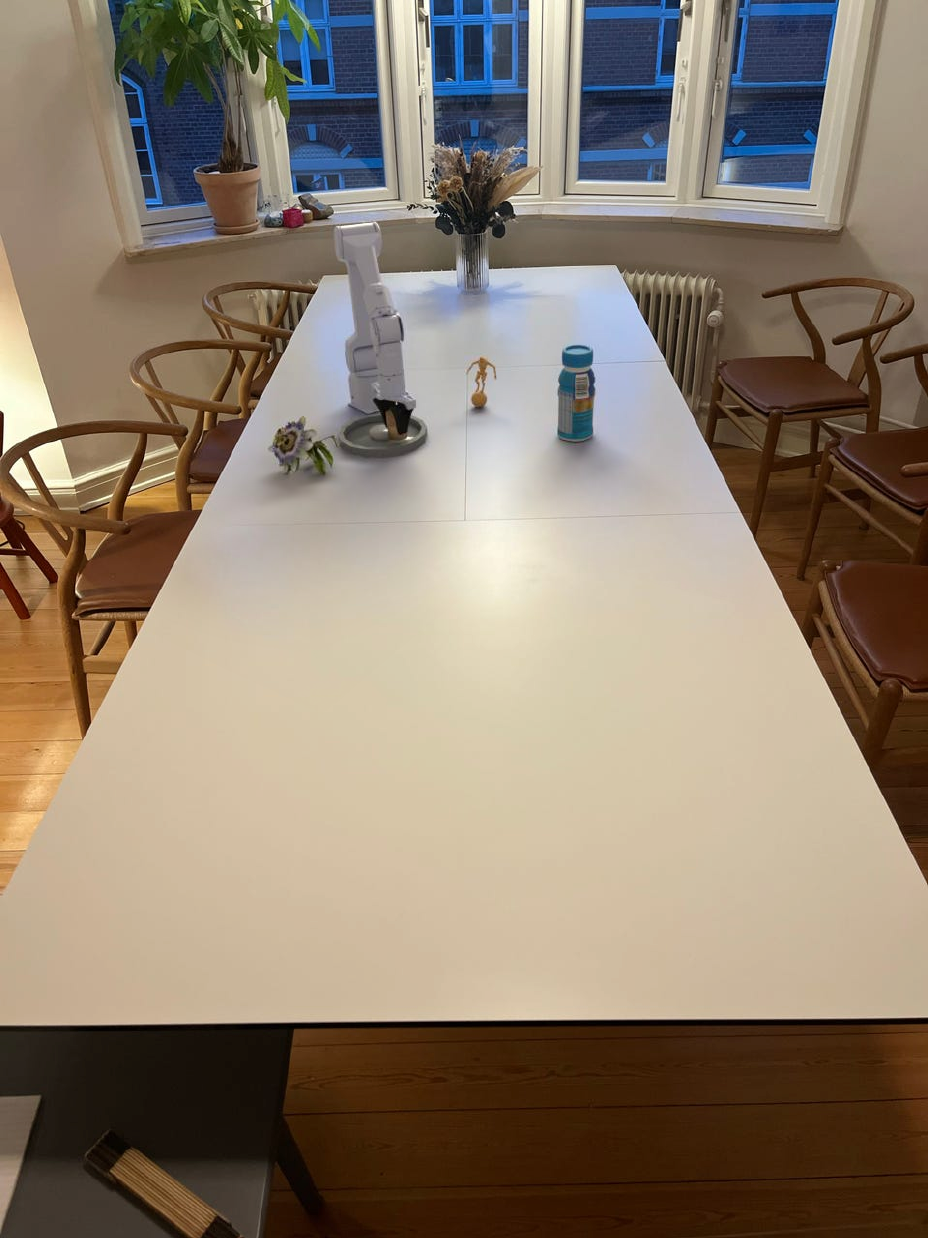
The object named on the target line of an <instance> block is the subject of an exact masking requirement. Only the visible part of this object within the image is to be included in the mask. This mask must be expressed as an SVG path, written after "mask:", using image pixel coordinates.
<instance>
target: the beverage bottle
mask: <svg viewBox="0 0 928 1238" xmlns="http://www.w3.org/2000/svg"><path fill="white" fill-rule="evenodd" d="M593 363H594V349H593V348H592V347H591V346H589V345H585V344H571V345H567V346H564V347H563V349H562V352H561V364H562V366H563V368H562V369H561V371H560V372H559V375H558V379H557V382H558V384H559V386H558V387H557V391H556V393H557V394H556V395H557V398H558V399H557V400H558V407H557V409H558V411H557V413H558V414H557V431H556V434H557V436H558V437H559V438H560V439H561V440H564V441H565V442H574V443H577V442H584V441H587V440H589V439H591V438H592V437H593V434H594V408H595V407H594V406H595V396H596V387H595V383H596V375H595V372H594V371H593V369H592V368H591V367H592V366H593Z"/></svg>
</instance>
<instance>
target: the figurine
mask: <svg viewBox="0 0 928 1238" xmlns="http://www.w3.org/2000/svg"><path fill="white" fill-rule="evenodd" d="M476 364H477V365H478V367H479V370H478V371H477V372H476V377H475V379H474V382H475V383H476V385H477V387H476V389H475V391H474V392H473V393H472V395H471V396H470V400H471V404H472V405H473V406H474V407H475V408H483V407H484V406H485V405H486V404H487V401H488V395H487V393H485V392H484V390H485V385H486V382H485V381H486V379H487V375H488V372H487V371H486V370H487V367H488V366H490V367H491V368H492V370H493V374H494V376H493V380H497V373H496V372H497V371H496V366H495V365H494V364H493V363H492V362H490V360H489V359H488V358H487V357H485V356H484V357H483V356H480V357H479V359H477V360H476V361H473V362H472V363H471V365H470V366H469V367H468V369H467V371H466V376H467V375H468V373H469V371H470V370H471V369H472V368H473V367H474V365H476ZM479 380H481V382H479ZM480 384H482V388H481V390H480Z"/></svg>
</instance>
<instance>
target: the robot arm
mask: <svg viewBox="0 0 928 1238" xmlns="http://www.w3.org/2000/svg"><path fill="white" fill-rule="evenodd" d="M333 242H334V248H335V249H334V250H335V256H336V258H337V261H338V262H342V263H344V264H345V266H346V269H347V276H348V277H347V278H348V284H349V293H350V301H351V303H350V304H351V309H352V310H351V311H352V316H353V325H354V326H353V327H354V331H353V332H352V333H351V334H350V336H349V337H347V339H346V340H345V343H344V347H345V349H344V350H345V351H344V353H345V354H344V355H345V363H346V366H347V370H348V372H349V373H348V374H349V375H348V378H347V380H348V381H347V382H348V389H349V396H350V401H347V404H348V406H351V407H353V408H354V409H357V410H359V411H361V412H363V413H364V414H365V415H371V414H375V413H376V412H379V413H380V414H381V416H382V419H383V421H384V424H385V427H386V428H387V420H386V411H387V410H389V409H390V410H391V412H392V414H393V416H394V419H395V422H396V428H397V432H398V434H399V435H402V434H405V433H407V431H408V425H409V420H410V416H411V415H412V414H413V411H414V409H416V408H417V401H416V398H415V397H413V396H412V395H411V393H410V392H409V391H408V389H406V377H405V368H404V359H403V358H404V356H403V344H402V343H403V342H405V341H404V340H405V328H404V323H403V320H402V319H403V318H402V317H401V315H400V313H399V311H398V310H397V309H396V308H395V306H394V303H393V299H392V295H391V293H390V289H389V287H388V286H386V285H385V284H383V283H382V279H381V274H380V268H379V263H378V258H379V256H380V255H381V250H382V248H383V237H382V231H381V228H380V225H379V224H378V223H377V221H372V222H365V223H357V224H348V225H336V226H335V227H334V229H333Z"/></svg>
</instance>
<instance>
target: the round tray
mask: <svg viewBox="0 0 928 1238" xmlns="http://www.w3.org/2000/svg"><path fill="white" fill-rule="evenodd" d="M428 435H429V434H428V426H427V425H426V423H425V421H424V420H423V419H421V418H419V417H417V416H415V415H412V414H411V416H410V420H409V425H408V431H407V438H406V439H404V440H400V441H393V440H390V439H389V438H388V430H387V428H386V427H385V424H384V421H383V419H382V416H381V414H380V412H378V413H371V414H365V415H362V416H360V417H358V418H353V419H351V420H350V421H348V422H347V423H345V424H344V425H342V426H341V427H340V429H339V431H338V433H337V437H338V444H339V446H340V448H341V449H342V450H343V451H345V452H347V453H348V454H350V455H353V456H358V457H363V458H383V459H384V458H389V457H394V456H395V457H396V456H401V455H404V454H407V453H410V452H412V451H415V450H417V449H418V448H420V447H421V446H422V445H424V444H425V443H426V441H427V437H428Z"/></svg>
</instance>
